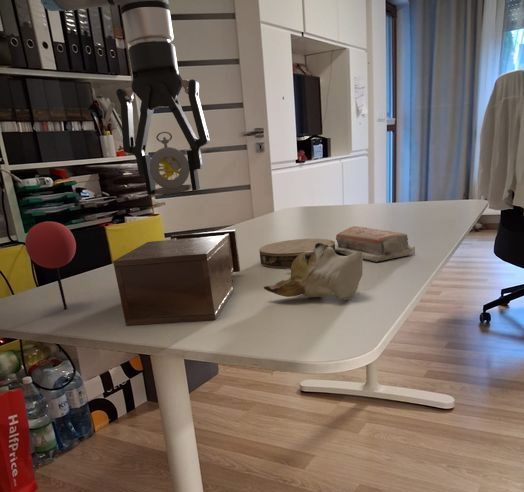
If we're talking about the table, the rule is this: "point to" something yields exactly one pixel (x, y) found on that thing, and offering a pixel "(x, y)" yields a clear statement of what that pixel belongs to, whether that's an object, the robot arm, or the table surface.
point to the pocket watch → (169, 169)
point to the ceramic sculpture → (322, 274)
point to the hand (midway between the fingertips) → (174, 191)
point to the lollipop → (51, 247)
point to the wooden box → (175, 280)
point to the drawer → (230, 241)
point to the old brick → (373, 243)
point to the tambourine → (288, 251)
